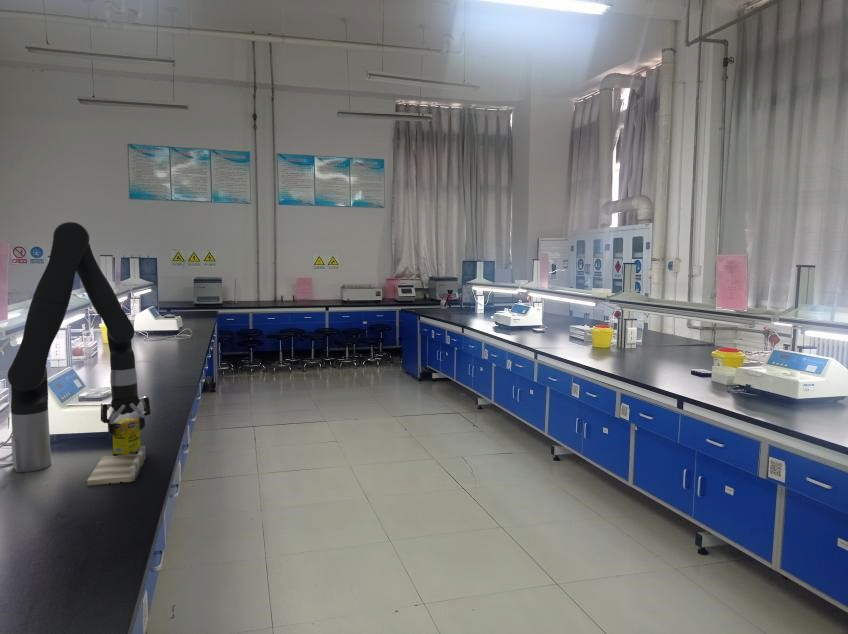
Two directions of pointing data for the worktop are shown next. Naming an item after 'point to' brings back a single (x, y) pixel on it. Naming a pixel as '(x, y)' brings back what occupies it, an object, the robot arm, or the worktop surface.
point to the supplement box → (126, 437)
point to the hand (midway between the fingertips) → (127, 431)
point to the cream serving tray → (117, 468)
